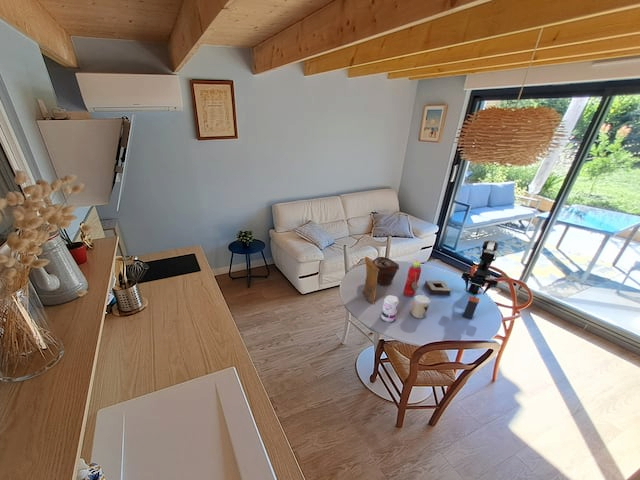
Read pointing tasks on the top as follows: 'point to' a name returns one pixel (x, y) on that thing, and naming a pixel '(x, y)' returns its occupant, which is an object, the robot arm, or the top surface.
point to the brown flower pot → (385, 270)
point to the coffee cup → (420, 306)
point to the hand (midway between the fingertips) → (474, 291)
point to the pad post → (471, 307)
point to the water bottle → (412, 279)
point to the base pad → (437, 288)
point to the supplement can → (389, 308)
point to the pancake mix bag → (370, 280)
